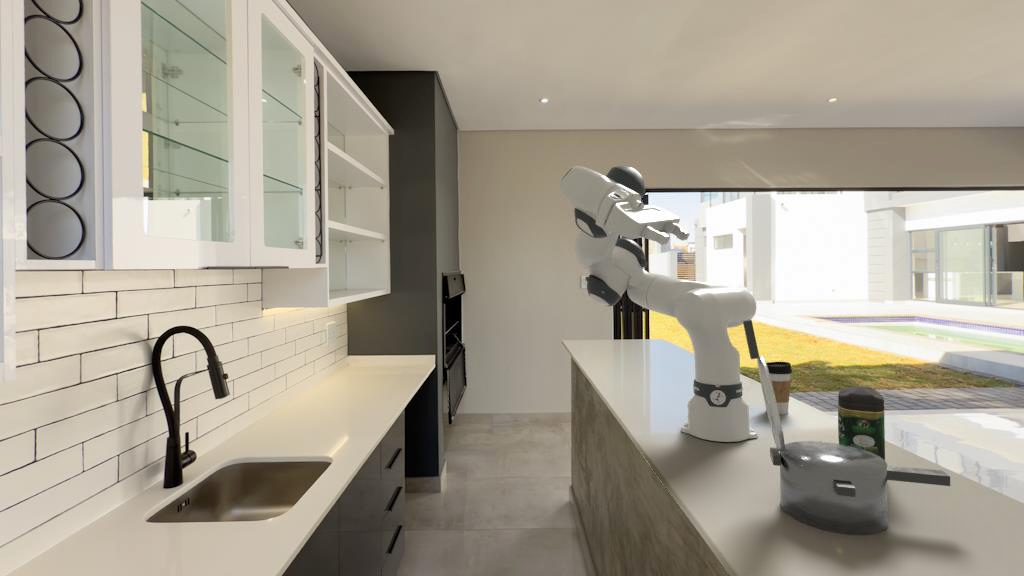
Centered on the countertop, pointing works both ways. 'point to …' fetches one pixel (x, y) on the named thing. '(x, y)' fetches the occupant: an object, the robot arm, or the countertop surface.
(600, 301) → the robot arm
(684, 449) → the countertop surface
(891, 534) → the countertop surface
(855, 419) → the coffee jar
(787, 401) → the coffee cup
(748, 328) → the lid
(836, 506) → the pot
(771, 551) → the countertop surface
